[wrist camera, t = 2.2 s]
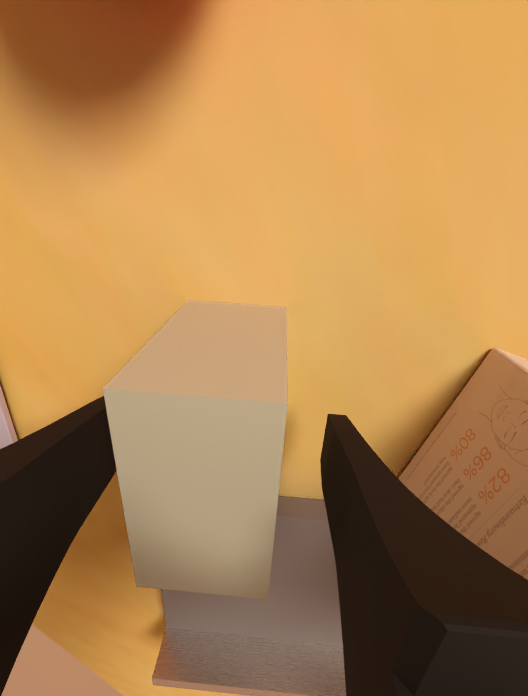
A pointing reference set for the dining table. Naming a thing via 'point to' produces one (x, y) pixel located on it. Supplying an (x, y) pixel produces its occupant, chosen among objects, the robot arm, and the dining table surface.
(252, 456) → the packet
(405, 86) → the dining table surface
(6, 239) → the dining table surface
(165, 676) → the grey square slab
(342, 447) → the robot arm
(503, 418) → the small box
